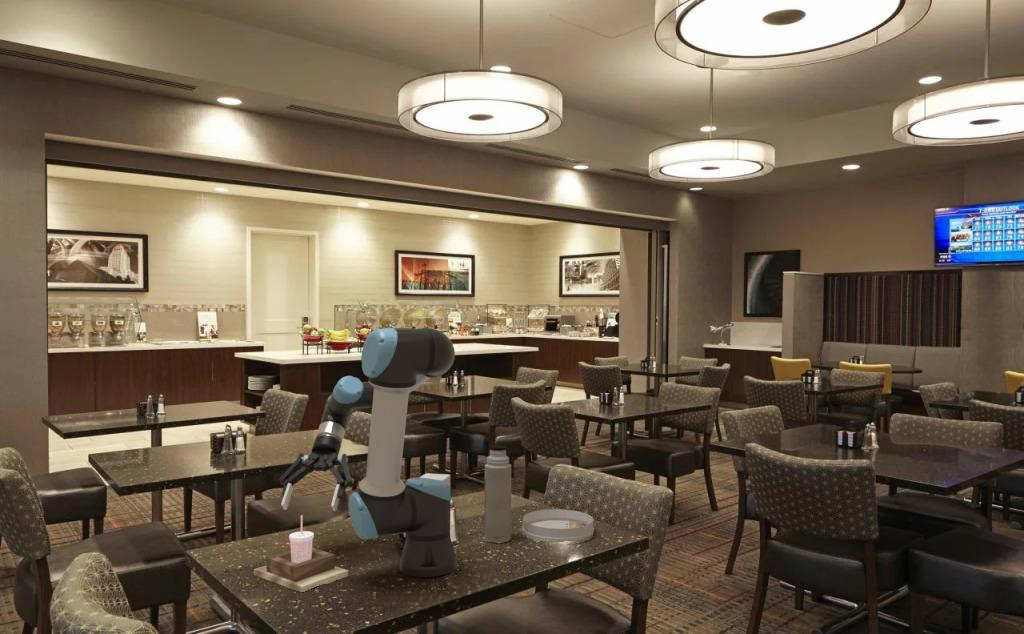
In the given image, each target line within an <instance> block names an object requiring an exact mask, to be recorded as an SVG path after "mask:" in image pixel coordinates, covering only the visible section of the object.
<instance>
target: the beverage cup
mask: <svg viewBox="0 0 1024 634" xmlns="http://www.w3.org/2000/svg"><path fill="white" fill-rule="evenodd" d="M303 517H304V515H303V514H301V515H300V531H295V532H292V533H290V534H289V535H288V538H289V541H290V550H291V561H292V562H294V563H297V564H298V563H301V562H304V561H307V560H310V559H311V556H312V548H313V539H314V537H315V536H314V535H315V533H314V532H313V531H310V530H309V531H307V530H303V528H304V527H303V525H304V524H303V523H304V522H303Z"/></svg>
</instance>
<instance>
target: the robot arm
mask: <svg viewBox="0 0 1024 634" xmlns="http://www.w3.org/2000/svg"><path fill="white" fill-rule="evenodd" d="M455 356H456V352H455V346H454V344H453V342H452V341H451V339H450V338H449V337H448V336H447V335H446V334H445V333H444V332H442V331H440V330H438V329H435V328H431V327H421V328H420V327H418V328H413V327H412V328H410V327H386V328H376V329H374V330H372V331H371V332H370V333H369V334H368V336H366V339H365V340H364V343H363V346H362V350H361V360H360V361H361V369H362V372H363V374H364V375H365V376H366V377H367V378H368V381H361V380H360V379H359V378H358V377H354V376H353V375H346V376H343V377H342V378H340V379H339V380H338V382H337V383H336V385H335V386H334V388H333V391H332V393H331V394H330V396H328V398H327V400H326V403H325V405H324V410H323V413H322V416H321V421H320V423H319V427H318V429H317V433H316V435H315V439H314V441H313V444H312V448H311V452H310V453H309V455H308V454H306V455H305V454H304V453H303V452H299V454H298V456H297V458H296V460H294V462H292V464H291V465H290V466H289V467H288V468H287V469H286V471H285V472H284V473H283V474H282V475H281V476H280V477H279V478H278V481H279V482H280V484H281V486H282V491H281V496H282V497H283V498H282V501H281V504H280V505H281V507H282V509H283V510H284V511H288V507H289V505H290V501H291V498H292V495H293V492H294V487H293V486H294V485H296V484H297V483H298V482H299V481H301V480H302V479H303V478H305V477H306V476H307V475H308V474H312V473H313V472H314V471H315V472H321V471H322V472H327V471H330V473H332V475H333V477H334V478H335V480H336V481H337V482H338V483H337V484H336V486H335V489H334V492H333V496H332V501H331V504H330V507H331V509H332V510H333V512H336V511H337V510H338V506H339V502H340V499H341V500H342V499H343V498H344V495H345V492H346V489H347V488H348V487H349V488H352V487H354V482H353V479H352V476H351V472H350V469H349V465H348V463H349V458H348V456H347V454H346V453H343V454H342V455H340V451H341V448H342V443H343V441H344V436H345V434H346V429H347V426H348V422H349V419H350V418H351V415H352V413H353V412H354V410H355V409H368V408H372V409H371V416H370V428H369V438H368V448H367V461H366V470H365V471H366V472H365V476H364V478H363V479H361V480H360V481H359V482H358V483H359V484H358V488H357V489H358V490H357V492H352V493H351V494H350V495H349V497H348V505H347V507H348V515H349V518H350V522H351V525H352V529H353V531H354V533H355V534H356V535H357V536H358V537H359V538H360V539H363V540H369V539H378V538H382V537H383V538H384V537H389V536H394V535H400V534H405V533H406V535H405V542H404V545H403V548H402V552H401V553H402V554H401V556H400V558H399V571H400V572H401V573H402V574H404V575H406V576H410V577H416V578H417V577H418V578H434V577H441V576H444V575H447V574H451V573H452V572H454V571H455V570H456V569H457V567H458V558H457V555H456V553H455V550H454V546H453V542H452V537H451V508H452V507H451V501H452V497H451V486H450V487H449V485H448V484H447V483H446V482H443V481H440V480H436V479H429V478H420V477H412V478H411V477H410V478H408V479H406V480H405V481H406V482H405V483H404V481H403V480H402V479H401V472H402V462H403V455H404V454H403V452H404V445H405V444H404V443H405V435H406V434H405V433H406V424H407V414H408V404H409V396H410V393H412V392H413V391H415V390H416V389H418V388H419V387H420V386H421V385H423V384H424V383H426V382H427V381H428V380H430V379H436V378H439V377H442V376H443V375H444V374H446V373H447V372H448V371H449V370H450V369H451V367H452V366H453V365H454V361H455ZM338 462H339V464H341V465H342V468H343V472H344V475H345V479H346V480H344V478H342V476H341V474H340V473H339V471H338V470H337V468H336V467H335V465H336V464H337V463H338Z"/></svg>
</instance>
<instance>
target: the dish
mask: <svg viewBox="0 0 1024 634" xmlns="http://www.w3.org/2000/svg"><path fill="white" fill-rule="evenodd" d="M569 521H575V522H580V523H584V524H586V526H582V527H578V528H569V527H570V526H569ZM567 523H568V525H565V524H567ZM566 526H568V527H566ZM566 528H567V529H566ZM521 529H522V530H521V533H522V532H523V534H524V535H526V536H527V537H529V538H531V539H535V540H539V541H546V542H564V541H575V540H579V539H584V538H586V537H589V536H591V535H592V534H593V532H594V533H595V527H594V518H593V516H591V515H590V514H589V513H586V512H582V511H577V510H574V509H572V510H570V509H560V508H552V509H551V508H550V509H539V510H535V511H530V512H528V513H526V514H524V515H523V517H522V526H521ZM523 534H522V535H523Z"/></svg>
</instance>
